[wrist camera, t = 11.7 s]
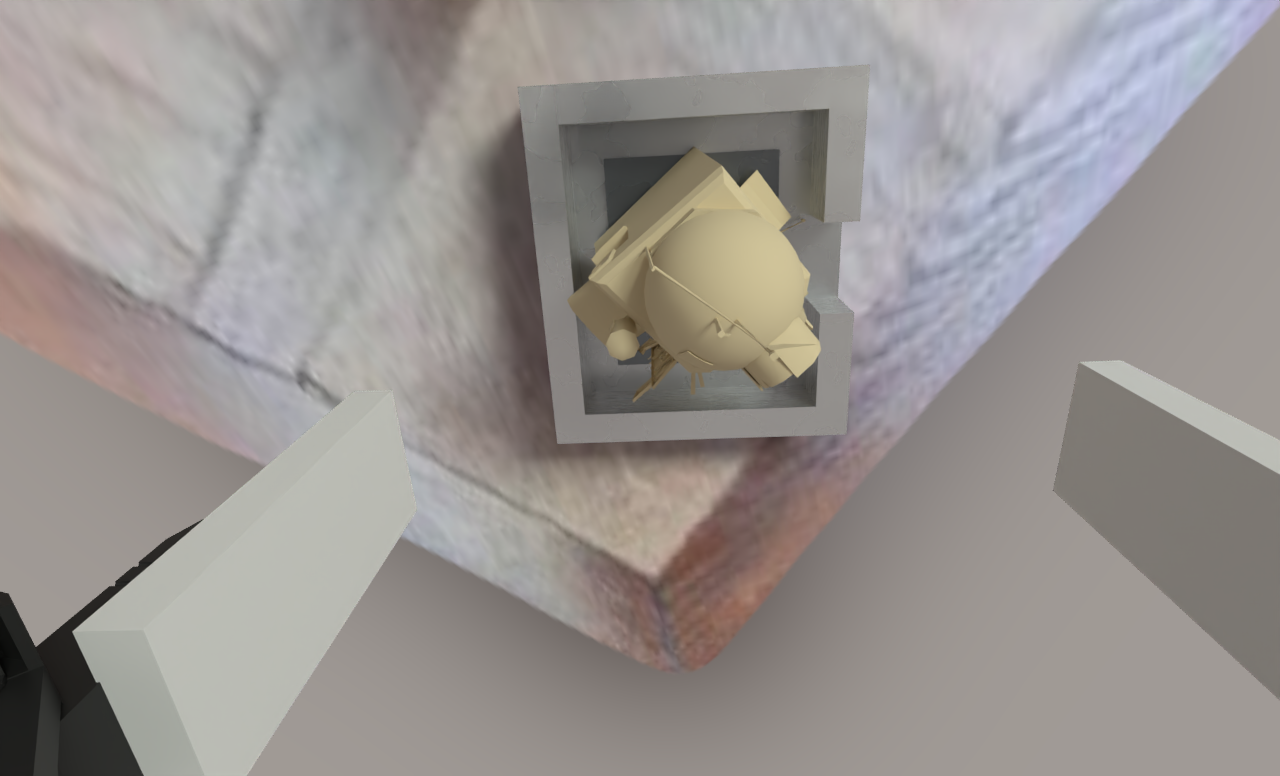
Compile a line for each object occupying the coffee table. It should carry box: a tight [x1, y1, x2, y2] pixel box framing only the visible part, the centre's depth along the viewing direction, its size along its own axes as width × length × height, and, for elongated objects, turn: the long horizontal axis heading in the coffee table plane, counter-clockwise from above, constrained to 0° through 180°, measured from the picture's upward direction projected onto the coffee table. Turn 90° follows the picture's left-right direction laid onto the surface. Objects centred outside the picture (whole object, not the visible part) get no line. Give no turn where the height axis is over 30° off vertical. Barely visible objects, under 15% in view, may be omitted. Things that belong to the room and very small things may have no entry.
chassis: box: [518, 65, 870, 444], centre depth 31 cm, size 14×16×4 cm
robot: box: [567, 147, 821, 402], centre depth 24 cm, size 10×8×15 cm
